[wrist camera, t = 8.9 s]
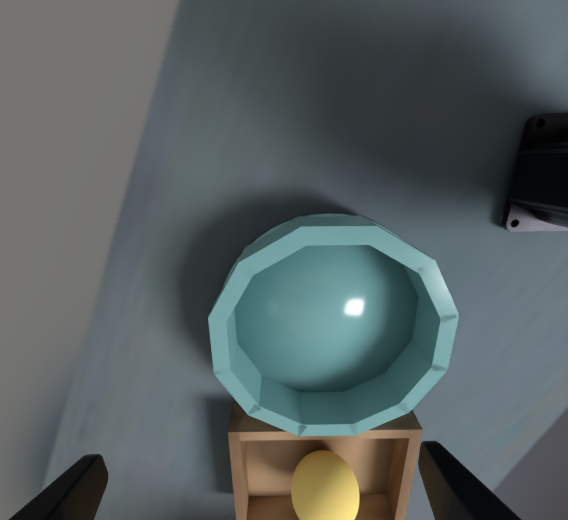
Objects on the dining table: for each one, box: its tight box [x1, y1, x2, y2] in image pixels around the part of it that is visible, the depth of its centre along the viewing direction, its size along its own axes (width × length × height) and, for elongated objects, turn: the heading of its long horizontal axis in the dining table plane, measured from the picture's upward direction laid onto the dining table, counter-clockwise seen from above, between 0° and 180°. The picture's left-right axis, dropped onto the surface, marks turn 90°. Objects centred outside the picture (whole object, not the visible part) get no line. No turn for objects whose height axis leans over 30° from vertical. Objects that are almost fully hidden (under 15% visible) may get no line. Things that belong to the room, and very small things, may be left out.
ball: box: [291, 450, 359, 520], centre depth 21 cm, size 5×5×5 cm
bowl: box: [208, 213, 459, 437], centre depth 19 cm, size 14×14×3 cm
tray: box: [228, 403, 423, 520], centre depth 23 cm, size 14×11×3 cm
